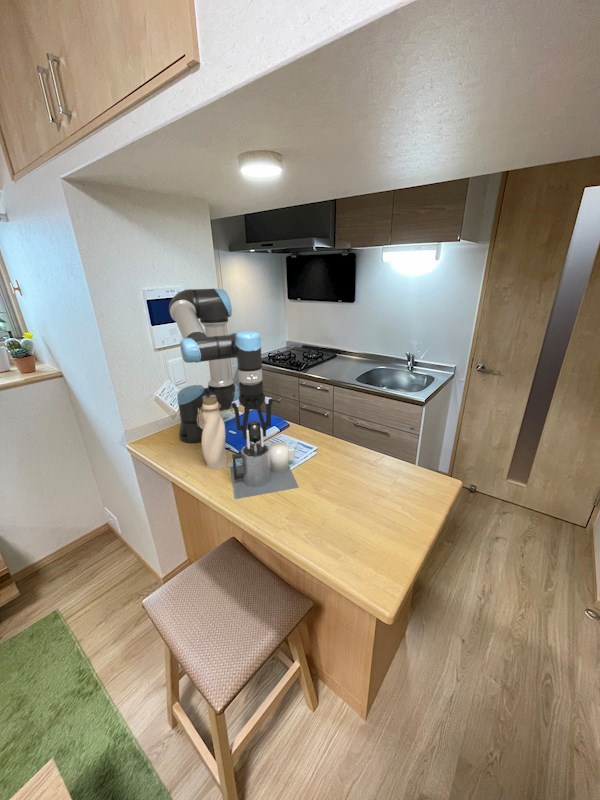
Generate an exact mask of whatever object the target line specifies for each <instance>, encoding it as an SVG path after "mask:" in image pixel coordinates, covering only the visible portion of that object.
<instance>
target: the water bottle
mask: <svg viewBox="0 0 600 800" xmlns="http://www.w3.org/2000/svg"><path fill="white" fill-rule="evenodd" d="M202 408H203V409H202ZM219 408H221V404H219V403H218V402H217V398H215V397H208V398H205V399H203V405H202V406H201V409H199V408H198V414H197V424H198V427H201V428H202V429H203V432H202V442H201V450H202V455H203V458H204V460H205V463H206V466H207V468H208V469H210V470H213V471H214V470H216V471H217V470H220V469H223V468H225V467H226V466H227V465H228V454H227V451H226V446H225V444H226V437H227V436H226V435H227V434H226V427H225V426H226V425H225V422H224V421H225V420H224V419H223V417H222V414H221V411H219ZM199 410H200V411H199ZM201 411H202V413H201ZM198 417H199V421H198ZM199 424H200V425H199Z"/></svg>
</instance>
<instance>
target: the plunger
mask: <svg viewBox="0 0 600 800" xmlns="http://www.w3.org/2000/svg"><path fill="white" fill-rule="evenodd" d="M260 426H261V422H260V421H257V420H253V421H250V422H249V421H248V423H247V428H248V430H249V441H250V443H253V444H254V456H257V443H260V440H261V436H260Z"/></svg>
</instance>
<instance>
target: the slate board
mask: <svg viewBox="0 0 600 800" xmlns="http://www.w3.org/2000/svg"><path fill="white" fill-rule="evenodd" d="M229 468H230V469H229V470H230V477H231V483H232V484H231V485H232V491H233V499H234V500H238V499H243V498H244V499H245V498H250V497H256V496H260V495H266V494H272V493H277V492H282V491H287V490H292V489H298V488H300V487H299V485H298V482H297V480H296V477H295V476H294V474H293V471H292V469H291V467H290V466H289V469H288V470H287V471H286V472H284V473H273V472H271V480H270V482H269V483H268V484H266V485H265V486H262V487H249V486H248V485H246V484H245V483H244V478H240V479H236V480H235V479H234V471H233V465H232V466H229ZM236 469H237V474H240V473H243V465H242V464H240V465H239V464H238V465H236Z"/></svg>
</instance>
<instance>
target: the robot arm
mask: <svg viewBox="0 0 600 800" xmlns="http://www.w3.org/2000/svg"><path fill="white" fill-rule="evenodd" d="M168 312H169V315H170V317H171V319H172V320H173V321H174V322H176V325H177V327H178V329H179V332H180V334H181V336H182V339H181V340H180V341H179V343H180V347H179V348H180V352H181V356H182V360H183V362H184V363H188V364H191V363H197V364H198V363H200V362H201V363H202V362H208V367H209V375H210V377H209V378H210V380H209V381H208V383H207V387H204V386H203V385H201V384H193V385H189V386H186V387H183V388H182V389H180V390H179V391H178V392H177V396H176V397H177V405H178V410H179V417H180V427H179V432H178V437H179V440H180V441H181V442H183V443H186V444H187V443H188V444H196V443H200V442H201V443H202V432H203V429H202V428H201V427H198V424H197V414H198V408H199V409H201V406H202V405H203V399H205V398H208V397H215V398H217V402H218V403H219V404H221V408H219V412H221V411H228V410H232V409H233V410H234V417H235V425H236V430H237V431H238V432H239V431H241V432H242V437H243V441H244V440H246V446H247V447H248V449H250V444H251V442H250V441H249V430H248V423H249V417H250V415H249V414H250V411H252V410H256V412H257V415H258V418H259V423H260V436H261V440H260V441H259V443H260V444H261V447H264V444H265V442H264V438H265V437H267V428H268V427H270V428H271V426H272V405H273V403H274V401H273V398H272V397H271V396H265V394H264V382H263V364H262V362H263V361H262V342H261V335H260V333H259V332H257V331H252V330H251V331H250V330H246V331H240V332H231V333H229V334H228V335H227V331H226V325H227V324H228V323H229V318H230V317H232V315H233V313H232V312H233V309H232V304H231V301H230V297H229V295H228V293H227V291H226V290H224V289H222V288H199V289H197V288H195V289H192V288H191V289H189V288H188V289H183V290H182V291H180V292H178V293H177V294H175V295H174V296H173V297H172V299H171V300H170V303H169V305H168ZM203 327H204V328H203ZM234 358H235V359H236V360H237V361H236V362H237V371H238V372H237V374H238V375H237V376H238V381H239V383H238V385H239V386H238V385H237V384H236V383H234V382H235V381H234V380H233V379H232V378H231V376H230V366H229V365H230V364H229V359H234ZM264 402H265V406H266V407H265V415H266V416H265V418H266V421H265V419H264V416H263V412H262V408H261V406H262V405H263V403H264ZM240 404H241V405H242V406H243V408H244V409H243V416H242V417H243V419H242V424H241V420H240V413H239V412H240V411H239V407H240ZM202 409H203V408H202ZM199 411H200V410H199ZM201 413H202V411H201ZM198 421H199V417H198ZM199 425H200V424H199Z"/></svg>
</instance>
